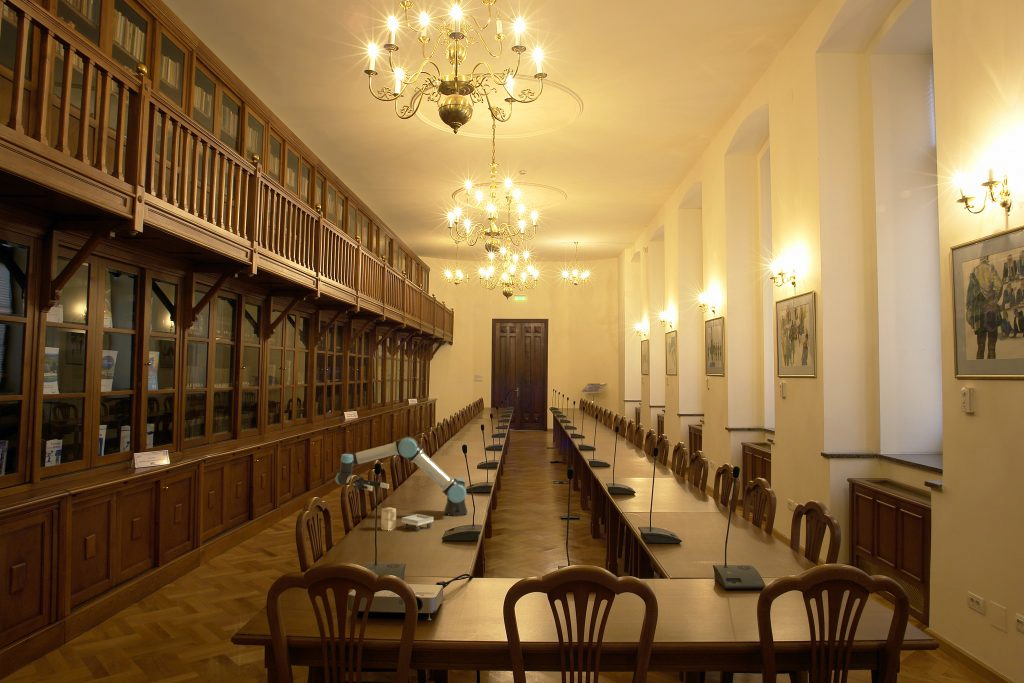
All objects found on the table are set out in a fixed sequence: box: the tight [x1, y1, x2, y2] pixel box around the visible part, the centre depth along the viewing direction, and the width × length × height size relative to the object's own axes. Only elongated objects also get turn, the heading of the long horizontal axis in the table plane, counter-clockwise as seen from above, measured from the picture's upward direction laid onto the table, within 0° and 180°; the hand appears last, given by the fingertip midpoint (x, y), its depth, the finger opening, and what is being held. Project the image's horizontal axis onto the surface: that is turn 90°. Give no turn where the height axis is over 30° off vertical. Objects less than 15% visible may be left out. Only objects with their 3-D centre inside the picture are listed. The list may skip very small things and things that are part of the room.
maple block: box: [380, 506, 397, 532], centre depth 392 cm, size 6×6×12 cm
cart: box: [401, 513, 434, 532], centre depth 395 cm, size 13×13×6 cm
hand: (380, 487), depth 398 cm, fingers open, 13 cm apart
